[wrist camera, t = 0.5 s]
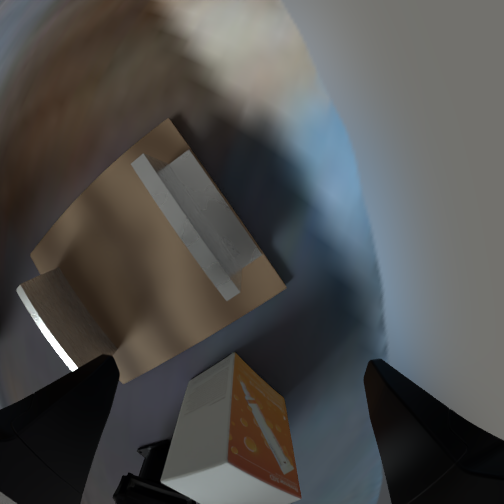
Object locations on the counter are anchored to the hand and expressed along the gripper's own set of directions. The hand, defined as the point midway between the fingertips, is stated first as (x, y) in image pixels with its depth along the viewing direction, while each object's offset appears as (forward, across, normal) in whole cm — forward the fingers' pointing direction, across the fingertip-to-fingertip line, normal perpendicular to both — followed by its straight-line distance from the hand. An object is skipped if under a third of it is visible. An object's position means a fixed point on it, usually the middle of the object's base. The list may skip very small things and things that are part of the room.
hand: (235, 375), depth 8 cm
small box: (+13, +2, +15) cm, 20 cm away
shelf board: (+14, +10, +2) cm, 17 cm away
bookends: (+13, +10, +2) cm, 17 cm away
